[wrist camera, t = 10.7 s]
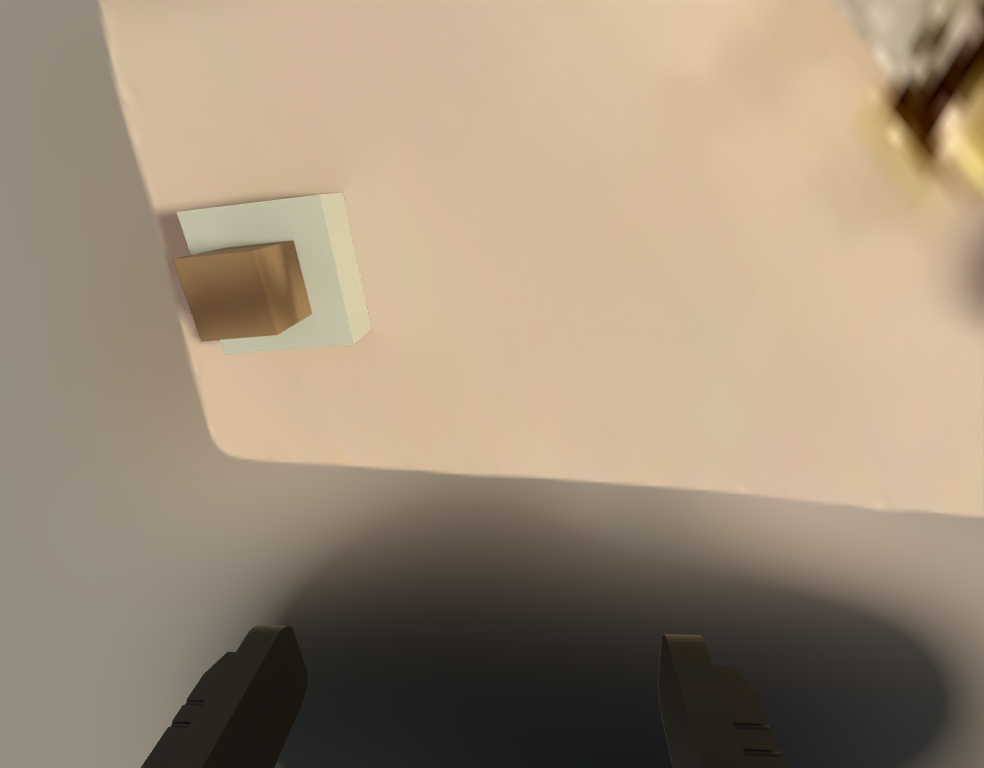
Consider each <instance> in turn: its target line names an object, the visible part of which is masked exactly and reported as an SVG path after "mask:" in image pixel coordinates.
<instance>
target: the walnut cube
mask: <svg viewBox="0 0 984 768" xmlns="http://www.w3.org/2000/svg"><path fill="white" fill-rule="evenodd" d="M173 261H174V264H175V267H176V270H177V273H178V275H179V278H180V281H181V284H182V287H183V290H184V293H185V295H186V298H187V301H188V304H189V307H190V310H191V313H192V315H193V318H194V321H195V324H196V327H197V330H198V332H199V335H200V338H201V341H212V340H224V339H236V338H248V337H261V336H273V335H278V334H280V333H281V332H283V331H285V330H286V329H288V328H290V327H292V326H293V325H295V324H297V323H298V322H300V321H302V320H303V319H305V318H307V317H308V316H310V315H312V310H311V306H310V302H309V298H308V295H307V291H306V287H305V283H304V279H303V275H302V271H301V267H300V263H299V259H298V255H297V251H296V247H295V243H294V240H293V241H283V242H274V243H265V244H255V245H246V246H237V247H228V248H221V249H217V250H212V251H208V252H203V253H199V254H194V255H190V256H185V257H181V258H176V259H173Z"/></svg>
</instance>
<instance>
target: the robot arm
mask: <svg viewBox="0 0 984 768" xmlns="http://www.w3.org/2000/svg"><path fill="white" fill-rule="evenodd" d="M660 655H661V656H660V668H659V684H658V689H659V701H660V708H661V714H662V720H663V725H664V729H665V733H666V738H667V743H668V747H669V751H670V756H671V760H672V765H673V768H787V765H786V763H785V761H784V758H783V757H782V756H781V753H780V749H779V746H778V744H777V741H776V739H775V736H774V734H773V732H772V730H770V727H769V722H768V720H767V717H766V715H765V712H764V710H763V708H762V705H761V703H760V701H759V698H758V696H757V693H756V692H755V691H754V690H753V688H752V687H751V686H750V685H749V684H748V682H747V681H746V680H745V679H744V678H743V676H742V675H741V674H740V673H739V672H738V670H737V669H736V668H735V667H730V666H713V663H712V660H711V657H710V655H709V652H708V649H707V646H706V643H705V641H704V639H703V637H702V636H700V635H663V636H662V641H661V654H660ZM307 687H308V672H307V668H306V665H305V662H304V659H303V656H302V653H301V650H300V647H299V644H298V641H297V638H296V635H295V632H294V630H293V628H292V627H290V626H255V627H254V628H252V629H251V630H250V631H249V633H248V634H247V636H246V637H245V639H244V640H243V642H242V644H241V645H240V647H239V648H238V650H237V651H236V652H227V653H226V654H225V655H224V656H223V657H222V658H221V659H220V660H218V661H217V662H216V663H215V664H214V665H213V666H212V667H211V668H210V669H209V670H208V671H207V672H205V673H204V675H203V676H202V678H201V679H200V681H199V682H198V684H197V685H196V687H195V688H194V689H193V691H192V692H191V694H190V695H189V697H188V699H187V702H186V704H185V705H183V706H182V707H181V709H180V710H179V712H178V713H177V715H176V716H175V718H174V719H173V721H172V725H171V727H168V728H167V730H166V731H165V733H164V734H163V736H162V737H161V738H160V740H159V741H158V743H157V745H156V746H155V747H154V749H153V750H152V752H151V753H150V755H149V756H148V758H147V759H146V761H145V762H144V764H143V765H142V767H141V768H275V765H276V763H277V761H278V759H279V757H280V754H281V752H282V750H283V748H284V745H285V743H286V741H287V739H288V736H289V734H290V732H291V730H292V727H293V725H294V723H295V721H296V719H297V716H298V714H299V712H300V710H301V707H302V705H303V702H304V700H305V697H306V692H307Z"/></svg>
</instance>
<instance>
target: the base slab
mask: <svg viewBox="0 0 984 768" xmlns="http://www.w3.org/2000/svg"><path fill="white" fill-rule="evenodd" d="M177 215H178V218H179V221H180V224H181V227H182V230H183V233H184V236H185V239H186V242H187V245H188V248H189V251H190V254H191V255H194V254H199V253H203V252H208V251H212V250H217V249H221V248H228V247H237V246H246V245H255V244H265V243H274V242H283V241H293V240H294V243H295V247H296V251H297V255H298V259H299V263H300V267H301V271H302V275H303V279H304V283H305V287H306V291H307V295H308V298H309V302H310V306H311V310H312V315H310V316H308V317H307V318H305V319H303V320H302V321H300V322H298V323H297V324H295V325H293V326H292V327H290V328H288V329H286V330H285V331H283V332H281V333H280V334H278V335H273V336H261V337H248V338H236V339H224V340H220V342H221V345H222V348H223V351H224V354H237V353H249V352H261V351H274V350H286V349H299V348H311V347H323V346H336V345H348V344H354V343H355V342H357V341H358V340H359V339H360V338H361V337H362V336H363V335H364V334H365V333H367V332H368V331H369V330H370V329H371V323H370V319H369V314H368V309H367V305H366V300H365V295H364V290H363V286H362V281H361V276H360V272H359V267H358V262H357V257H356V253H355V248H354V243H353V239H352V234H351V229H350V224H349V220H348V215H347V210H346V205H345V201H344V196H343V193H332V194H319V195H311V196H303V197H295V198H287V199H278V200H270V201H262V202H254V203H246V204H238V205H229V206H221V207H213V208H205V209H197V210H189V211H180V212H177Z"/></svg>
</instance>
